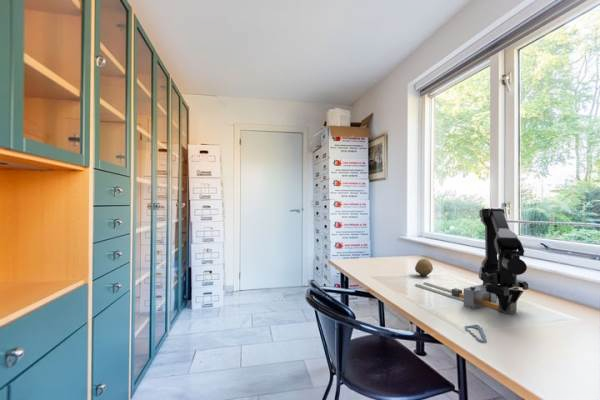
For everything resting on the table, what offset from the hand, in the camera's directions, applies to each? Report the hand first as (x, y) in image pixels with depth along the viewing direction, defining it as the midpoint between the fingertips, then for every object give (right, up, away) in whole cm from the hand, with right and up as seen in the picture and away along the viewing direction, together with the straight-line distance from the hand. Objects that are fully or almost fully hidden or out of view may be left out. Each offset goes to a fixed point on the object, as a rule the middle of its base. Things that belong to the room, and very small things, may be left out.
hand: (507, 309), depth 106 cm
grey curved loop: (-24, -1, -18) cm, 30 cm away
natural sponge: (-9, -2, +51) cm, 52 cm away
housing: (-12, -1, +20) cm, 24 cm away
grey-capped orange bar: (-5, -1, +9) cm, 10 cm away
